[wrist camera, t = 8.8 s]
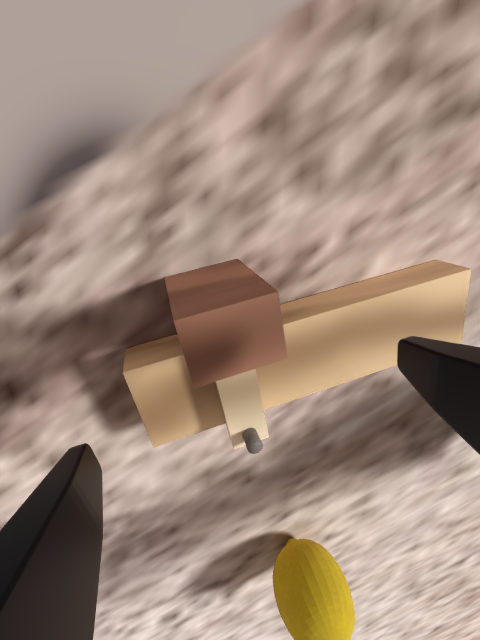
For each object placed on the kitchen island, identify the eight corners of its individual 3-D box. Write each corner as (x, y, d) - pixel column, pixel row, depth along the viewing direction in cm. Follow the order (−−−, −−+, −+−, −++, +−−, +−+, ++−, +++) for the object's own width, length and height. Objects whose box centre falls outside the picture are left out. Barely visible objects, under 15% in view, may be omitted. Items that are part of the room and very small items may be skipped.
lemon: (249, 541, 27) (287, 670, 20) (307, 506, 27) (365, 621, 20) (274, 570, 29) (315, 694, 22) (326, 538, 30) (384, 650, 22)
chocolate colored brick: (262, 390, 21) (302, 460, 16) (204, 410, 21) (224, 489, 15) (237, 258, 17) (278, 291, 12) (164, 277, 17) (173, 321, 11)
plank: (430, 327, 23) (461, 342, 21) (152, 417, 20) (153, 447, 18) (436, 259, 21) (471, 268, 19) (125, 348, 18) (122, 372, 15)
